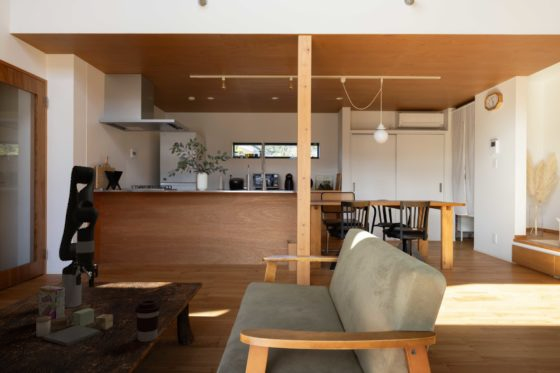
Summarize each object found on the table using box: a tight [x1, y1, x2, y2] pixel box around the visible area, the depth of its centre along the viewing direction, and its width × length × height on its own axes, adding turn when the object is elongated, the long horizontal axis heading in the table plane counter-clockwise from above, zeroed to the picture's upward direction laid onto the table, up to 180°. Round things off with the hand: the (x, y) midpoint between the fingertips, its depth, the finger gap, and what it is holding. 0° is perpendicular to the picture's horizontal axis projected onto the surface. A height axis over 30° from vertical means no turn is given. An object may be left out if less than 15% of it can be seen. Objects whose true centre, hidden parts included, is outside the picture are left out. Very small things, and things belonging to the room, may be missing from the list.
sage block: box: [73, 307, 95, 327], centre depth 168 cm, size 4×7×6 cm, turn 155°
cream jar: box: [35, 316, 51, 338], centre depth 156 cm, size 5×5×7 cm
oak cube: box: [94, 313, 114, 331], centre depth 164 cm, size 5×5×5 cm
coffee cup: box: [134, 299, 162, 343], centre depth 152 cm, size 10×10×15 cm
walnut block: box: [50, 316, 68, 333], centre depth 162 cm, size 4×6×4 cm, turn 135°
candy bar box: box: [38, 285, 66, 320], centre depth 169 cm, size 11×5×16 cm, turn 71°
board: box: [42, 325, 102, 347], centre depth 154 cm, size 15×15×1 cm
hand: (84, 286), depth 169 cm, fingers open, 8 cm apart
